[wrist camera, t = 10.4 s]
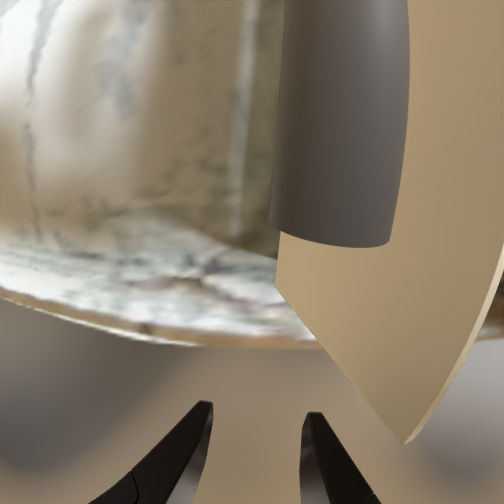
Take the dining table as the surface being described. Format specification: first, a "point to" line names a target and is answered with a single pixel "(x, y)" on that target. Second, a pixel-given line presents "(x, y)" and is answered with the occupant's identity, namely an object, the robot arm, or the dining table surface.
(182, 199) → the dining table surface
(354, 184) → the lid flap
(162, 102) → the dining table surface
